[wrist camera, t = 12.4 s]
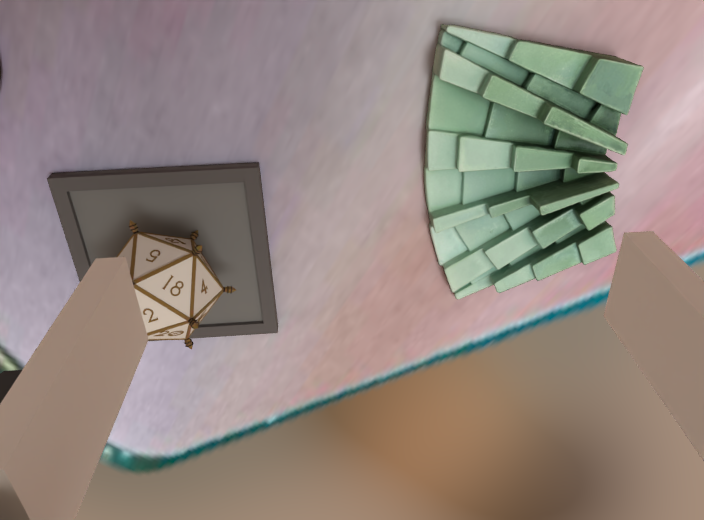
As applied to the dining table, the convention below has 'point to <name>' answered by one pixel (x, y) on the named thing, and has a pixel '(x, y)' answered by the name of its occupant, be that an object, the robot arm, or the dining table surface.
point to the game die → (171, 283)
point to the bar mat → (180, 229)
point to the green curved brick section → (521, 156)
